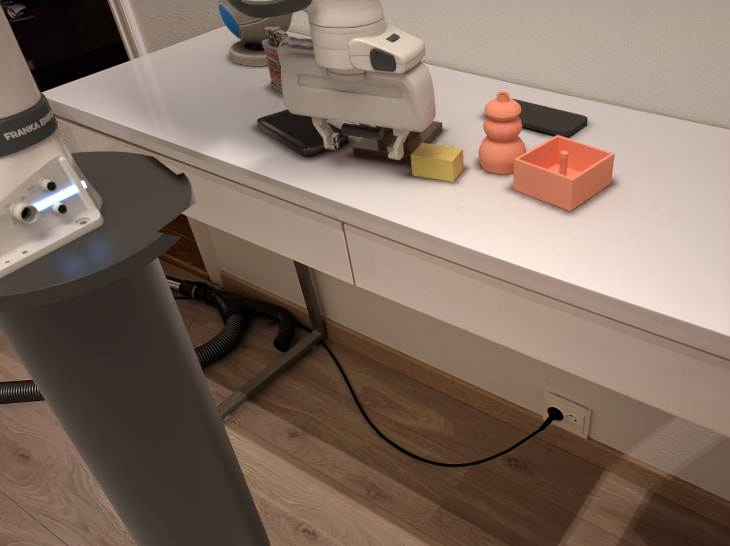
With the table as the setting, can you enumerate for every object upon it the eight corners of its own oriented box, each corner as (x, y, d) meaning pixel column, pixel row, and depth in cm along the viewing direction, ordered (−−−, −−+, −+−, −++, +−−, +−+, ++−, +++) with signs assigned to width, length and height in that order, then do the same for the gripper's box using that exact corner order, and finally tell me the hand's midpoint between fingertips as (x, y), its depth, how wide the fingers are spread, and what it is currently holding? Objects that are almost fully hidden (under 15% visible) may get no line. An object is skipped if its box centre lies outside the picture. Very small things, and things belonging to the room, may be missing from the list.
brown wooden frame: (411, 164, 94) (402, 62, 85) (353, 155, 96) (338, 55, 87) (442, 130, 102) (438, 34, 93) (389, 123, 105) (379, 28, 95)
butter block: (453, 182, 90) (452, 161, 88) (412, 175, 92) (410, 154, 90) (463, 169, 93) (463, 148, 91) (423, 163, 94) (422, 142, 92)
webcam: (312, 54, 129) (297, -34, 119) (252, 71, 123) (231, -21, 112) (277, 39, 136) (260, -46, 126) (219, 54, 130) (196, -34, 120)
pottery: (611, 183, 89) (620, 110, 83) (569, 211, 84) (576, 135, 77) (505, 146, 98) (506, 77, 91) (462, 169, 93) (460, 98, 86)
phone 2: (509, 97, 110) (590, 116, 103) (509, 102, 110) (590, 122, 104) (483, 112, 105) (566, 133, 99) (483, 117, 106) (566, 139, 99)
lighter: (266, 87, 117) (253, 25, 110) (284, 82, 118) (271, 20, 112) (290, 99, 112) (278, 36, 106) (308, 94, 114) (297, 31, 107)
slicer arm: (382, 144, 88) (376, 133, 86) (345, 139, 90) (338, 127, 88) (415, 58, 92) (410, 45, 90) (379, 54, 94) (373, 41, 91)
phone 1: (304, 150, 95) (254, 119, 103) (306, 158, 96) (255, 126, 104) (351, 134, 99) (299, 105, 107) (352, 141, 99) (300, 112, 108)
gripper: (260, 42, 81) (284, 151, 90) (416, 60, 76) (424, 174, 85) (288, 27, 85) (308, 133, 95) (437, 43, 80) (442, 153, 90)
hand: (364, 152), depth 90 cm, fingers open, 8 cm apart
